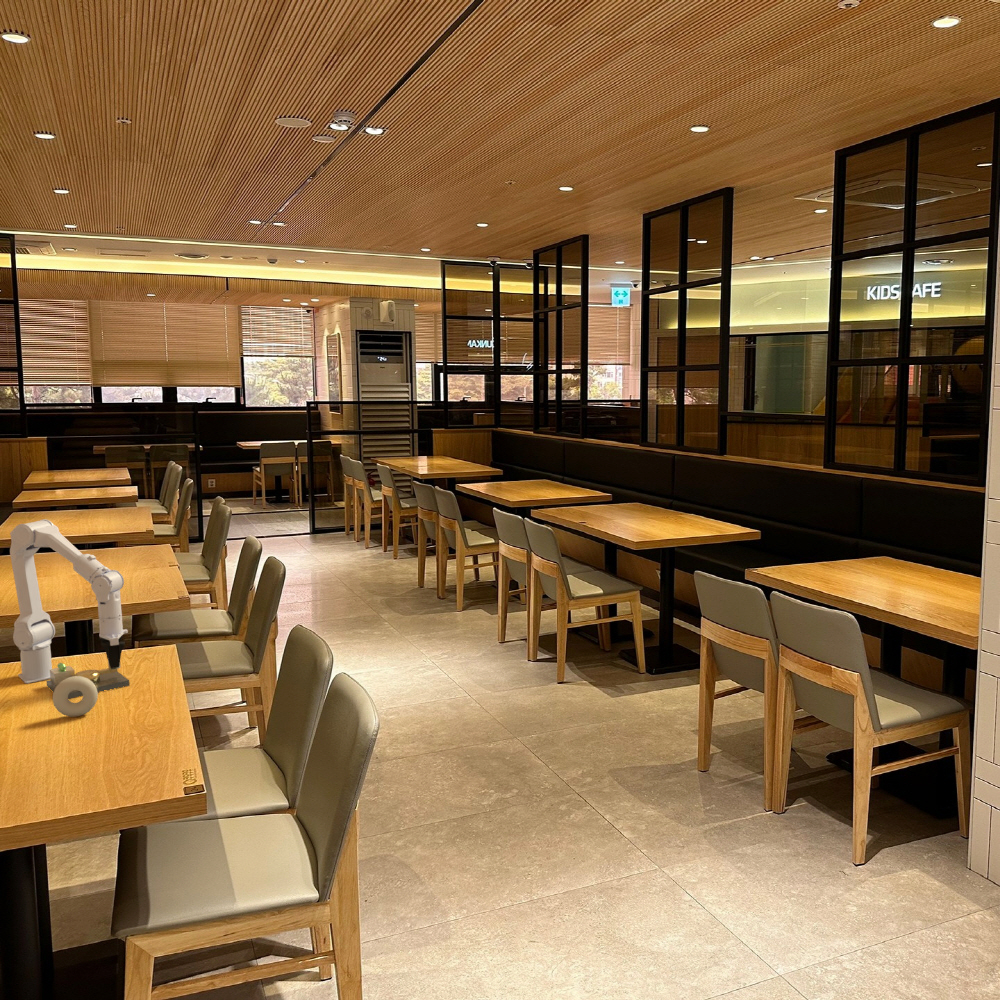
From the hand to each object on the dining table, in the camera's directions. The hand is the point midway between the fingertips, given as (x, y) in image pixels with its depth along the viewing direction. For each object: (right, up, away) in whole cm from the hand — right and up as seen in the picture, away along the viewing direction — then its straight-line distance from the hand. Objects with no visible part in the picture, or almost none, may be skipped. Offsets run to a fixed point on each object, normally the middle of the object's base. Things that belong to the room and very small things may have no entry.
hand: (113, 664), depth 243 cm
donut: (+2, -8, -25) cm, 27 cm away
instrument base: (-6, -5, -3) cm, 8 cm away
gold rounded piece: (-4, -3, -1) cm, 5 cm away
